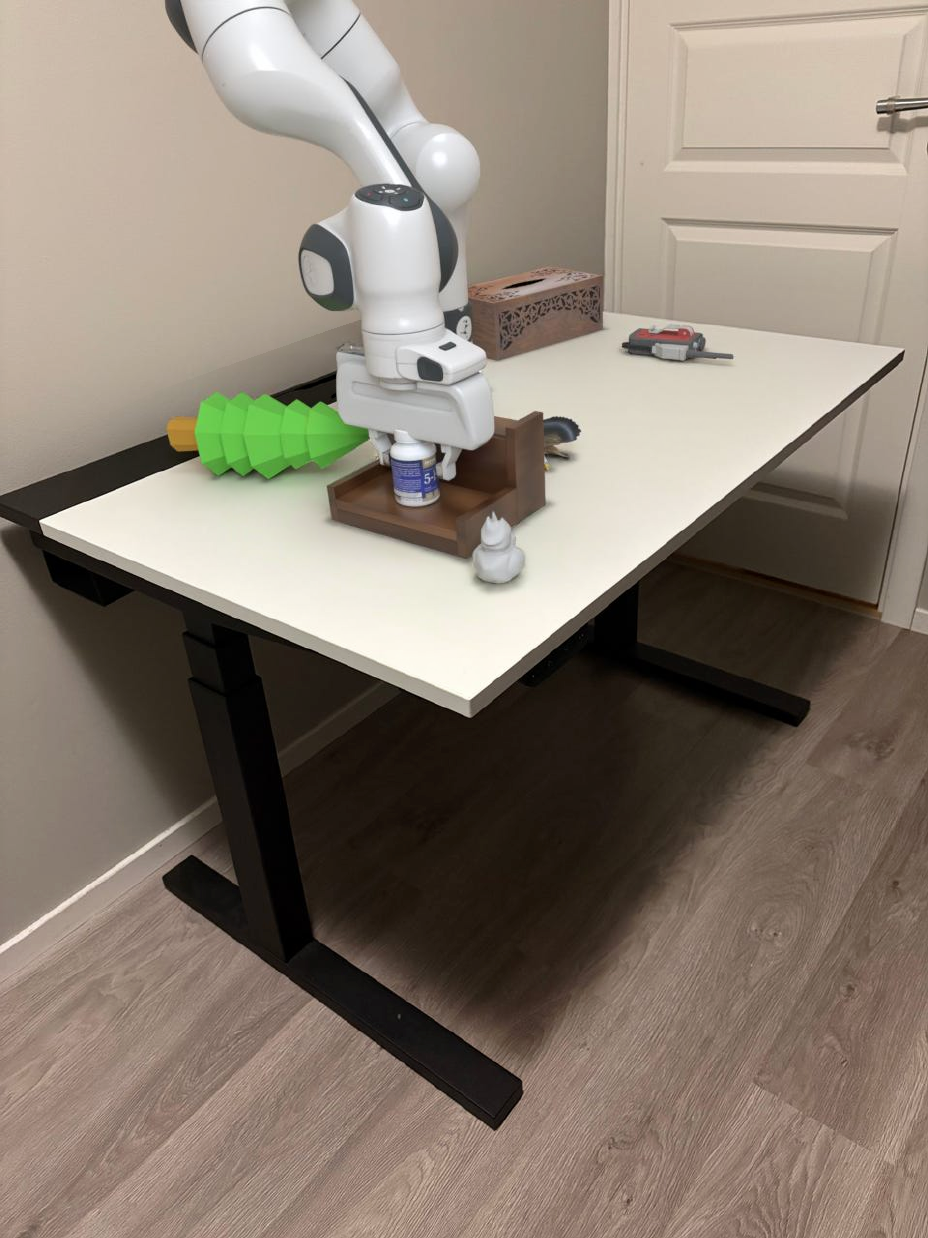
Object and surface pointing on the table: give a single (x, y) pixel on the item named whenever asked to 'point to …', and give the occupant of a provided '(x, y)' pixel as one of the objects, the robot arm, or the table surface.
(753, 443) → the table surface
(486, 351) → the tissue box cover
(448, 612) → the table surface
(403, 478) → the pill bottle
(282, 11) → the robot arm
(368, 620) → the table surface
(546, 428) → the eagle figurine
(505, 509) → the shelf
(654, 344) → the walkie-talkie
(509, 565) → the rubber duck
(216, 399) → the decorative tree
